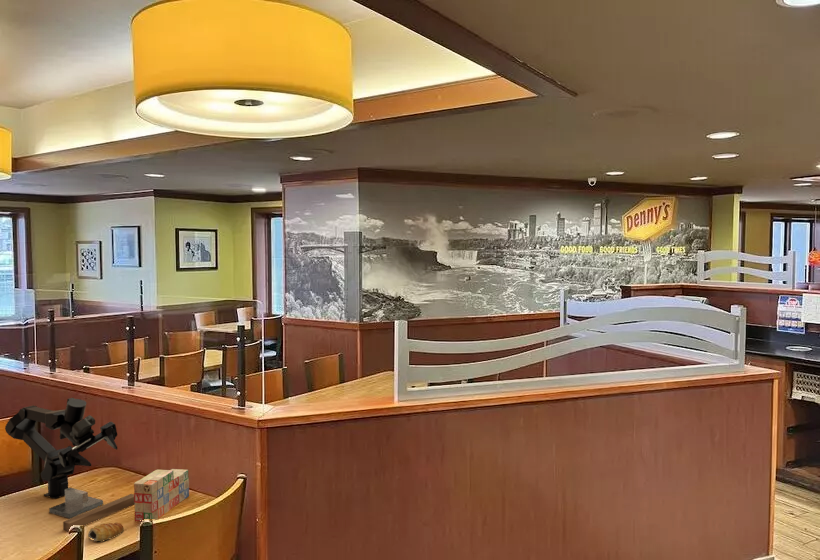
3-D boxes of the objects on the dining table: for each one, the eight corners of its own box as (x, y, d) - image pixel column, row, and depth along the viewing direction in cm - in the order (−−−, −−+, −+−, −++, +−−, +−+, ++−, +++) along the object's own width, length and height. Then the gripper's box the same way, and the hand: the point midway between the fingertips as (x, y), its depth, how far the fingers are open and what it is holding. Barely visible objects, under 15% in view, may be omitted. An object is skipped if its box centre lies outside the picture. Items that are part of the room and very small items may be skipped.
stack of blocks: (173, 494, 215) (172, 459, 214) (189, 496, 214) (188, 461, 213) (134, 521, 194) (133, 482, 193) (152, 522, 193) (151, 484, 192)
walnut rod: (63, 531, 188) (63, 521, 188) (131, 502, 209) (131, 493, 209) (69, 533, 186) (69, 523, 186) (137, 504, 208) (137, 495, 208)
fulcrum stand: (49, 512, 200) (48, 494, 200) (83, 499, 211) (83, 482, 211) (69, 518, 196) (68, 500, 195) (103, 504, 206) (102, 486, 206)
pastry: (116, 527, 190) (116, 515, 190) (128, 533, 186) (128, 520, 186) (85, 539, 182) (85, 526, 182) (98, 545, 178) (98, 532, 178)
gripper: (43, 431, 198) (72, 456, 191) (98, 401, 211) (126, 422, 205) (50, 455, 204) (78, 480, 197) (103, 424, 217) (130, 446, 210)
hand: (104, 456), depth 202 cm, fingers open, 9 cm apart
